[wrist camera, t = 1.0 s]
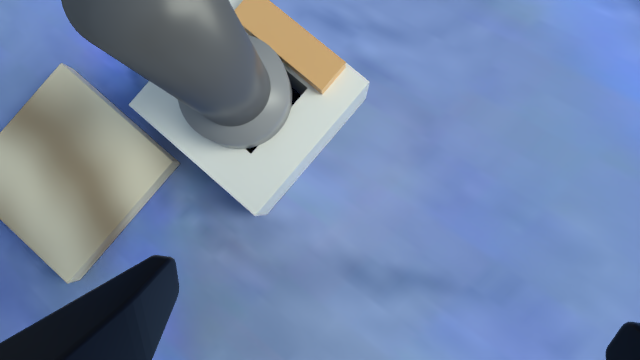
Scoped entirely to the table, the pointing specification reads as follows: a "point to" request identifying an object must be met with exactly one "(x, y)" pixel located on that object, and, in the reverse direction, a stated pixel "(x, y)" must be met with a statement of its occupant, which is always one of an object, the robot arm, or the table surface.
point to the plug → (195, 62)
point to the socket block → (300, 127)
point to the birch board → (75, 173)
